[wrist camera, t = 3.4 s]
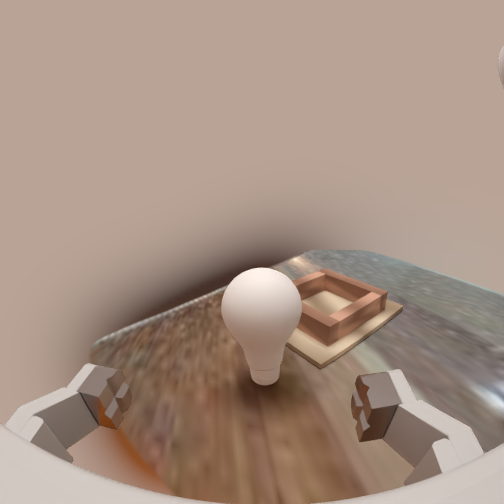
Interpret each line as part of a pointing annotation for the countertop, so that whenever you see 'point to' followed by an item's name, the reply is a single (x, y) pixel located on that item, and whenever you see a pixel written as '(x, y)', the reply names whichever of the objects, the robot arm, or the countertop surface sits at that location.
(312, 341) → the socket block
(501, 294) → the countertop surface
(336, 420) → the countertop surface
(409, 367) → the countertop surface
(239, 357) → the countertop surface
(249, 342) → the lightbulb
